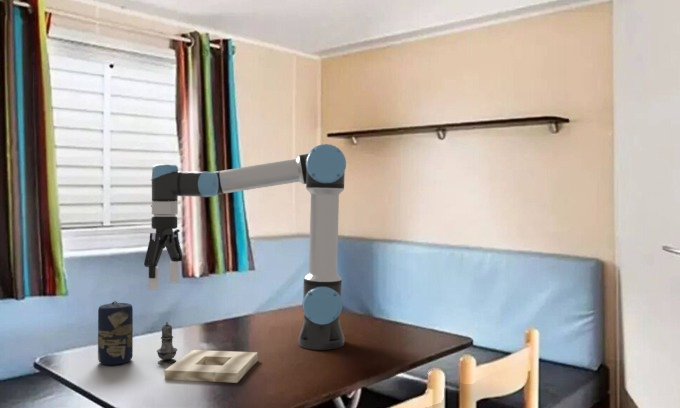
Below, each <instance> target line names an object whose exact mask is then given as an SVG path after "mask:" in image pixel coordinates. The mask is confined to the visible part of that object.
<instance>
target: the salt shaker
mask: <svg viewBox="0 0 680 408" xmlns="http://www.w3.org/2000/svg"><path fill="white" fill-rule="evenodd" d="M168 322H169V321H166V323H165V325H163V326H162V327H161V337H160V339H161V346H160V348H158V349H156V353H157V356H158V358H159V360H158V361H157V364H158V365H161V366H168V365H170V366H171V365H173V364H174V363H175V362H177V360H176V359H175V357H176V354H177V351H178V348H177V347H174V346H173V339H174V336H173V327H172V325H171V324H169V323H168Z"/></svg>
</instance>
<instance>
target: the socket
mask: <svg viewBox="0 0 680 408" xmlns="http://www.w3.org/2000/svg"><path fill="white" fill-rule="evenodd" d="M257 362H258V352H257V351H254V352H253V351H231V350H229V351H228V350H204V349H192V350H190V351H189V352H188V353H186V354H185V355H183V357H181V358H180V359H178V360H176V362H175V363H174V364H170V366H168V367H167V368H166V369H164V380H169V381H171V380H172V381H187V382H189V381H190V382H212V383H214V382H215V383H233V384H234V383H235V384H237V383H238V382H240V380H241V379H242V378H243V377H244V376H245V375H246V374H248V372H249V371H250V369H252V367H254V365H255V364H256V363H257Z"/></svg>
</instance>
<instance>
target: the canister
mask: <svg viewBox="0 0 680 408" xmlns="http://www.w3.org/2000/svg"><path fill="white" fill-rule="evenodd" d="M133 309H134V308H133V305H132V304H131V303H127V302H118V301H115V300H114V301H112V302H110V303H105V304H102V305H100V306H99V307H98V309H97V311H98V312H97V360H98V362H99V363H100V364H102V365H106V366H111V365H112V366H114V365H122V364H125V363H128V362H130V361H132V359H133V352H134V351H133V350H134V349H133V347H134V346H133V345H134V344H133V340H134V339H133V337H134V336H133V333H134V332H133V330H134V329H133V328H134V327H133V326H134V325H133V323H134V322H133V313H134V312H133V311H134V310H133Z"/></svg>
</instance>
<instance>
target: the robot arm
mask: <svg viewBox="0 0 680 408" xmlns="http://www.w3.org/2000/svg"><path fill="white" fill-rule="evenodd" d="M346 167H347V159H346V157H345V154H344V153H343V151H342V150H341V149H340V148H339V147H337V146H335V145H333V144H328V143H325V144H322V143H321V144H319V145H317V146H314V147H313V148H312V149H310V151H309V152H308V153H306V154H299V155H298V156H297V157H296V158H294V159H287V160H281V161H275V162H269V163H268V162H267V163H262V164H255V165H250V166H249V165H248V166H243V167H237V168H231V169H224V170H218V171H181V170H180V171H179V167H178V165H177V164H164V163H163V164H155V165H153V167H152V168H151V169H152V170H151V171H152V172H151V179H150V181H151V205H150V207H151V214H152V215H153V216H152V217H151V226H150V227H151V228H152V229H153V230H155V232H150V233H149V242H148V246H147V249H146V255H145V257H144V262H143V264H144V267H146V268H148V285H147V286H148V287H147V288H148V289H147V290H159V266H158V264H159V261H160V259H161V256H162V253H163V251H164V249H166V250H167V251H166V252H167V254H168V256H169V258H170V260H171V261H169V283H179V282H180V280H179V279H180V278H179V276H180V275H179V273H180V272H179V270H180V269H179V268H180V267H179V265H180V264H179V263H180V262H182V261H183V253H182V249H181V243H180V239H179V231H178V230H176V229H177V228H178V217H177V216H176V215H178V211H179V210H178V209H179V208H178V207H179V206H178V204H179V203H178V201H179V200H178V197H202V198H209V197H216V196H217V195H223V194H230V193H236V192H242V191H249V190H255V189H262V188H269V187H273V186H280V185H288V184H293V183H294V184H295V183H301V184H303V185H306V187H305V188H306V190H307V191H308V193H310V214H309V215H310V218H309V219H310V221H309V255H308V257H309V259H308V261H309V263H308V272H307V273H306V274H305V276H304V277H303V293H302V294H303V298H302V306H301V307H302V311H303V323H302V325H301V326H302V327H301V330H300V333H299V335H298V346H300V347H301V348H303V349H307V350H315V351H327V350H328V351H329V350H334V349H340V348H342V347H343V346H344V345H345V335H344V332H343V329H342V326H341V322H340V314H341V312H342V310H343V301H342V285H343V284H342V283H343V282H342V281H343V280H342V277H341V276H340V275H339V273H338V250H339V249H338V247H339V246H338V244H339V213H340V212H339V211H340V210H339V203H340V194H342V192H343V191H344V190H345V172H346Z"/></svg>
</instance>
